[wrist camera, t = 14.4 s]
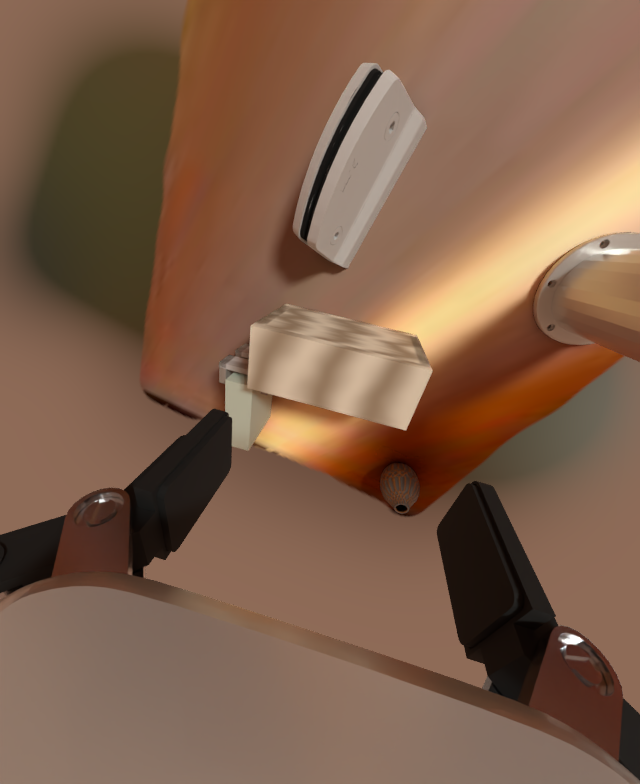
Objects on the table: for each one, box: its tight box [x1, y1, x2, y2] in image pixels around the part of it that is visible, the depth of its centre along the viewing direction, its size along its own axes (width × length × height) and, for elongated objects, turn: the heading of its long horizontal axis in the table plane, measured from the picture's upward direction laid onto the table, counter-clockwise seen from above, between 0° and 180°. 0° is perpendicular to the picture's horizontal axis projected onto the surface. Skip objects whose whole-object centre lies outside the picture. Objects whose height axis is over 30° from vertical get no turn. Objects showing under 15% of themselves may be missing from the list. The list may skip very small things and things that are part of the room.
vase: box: [380, 463, 420, 514], centre depth 48 cm, size 7×7×9 cm
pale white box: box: [225, 372, 273, 451], centre depth 44 cm, size 5×12×10 cm, turn 169°
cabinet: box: [219, 304, 433, 430], centre depth 37 cm, size 26×11×13 cm, turn 79°
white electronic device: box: [293, 63, 427, 268], centre depth 29 cm, size 17×5×10 cm, turn 150°
